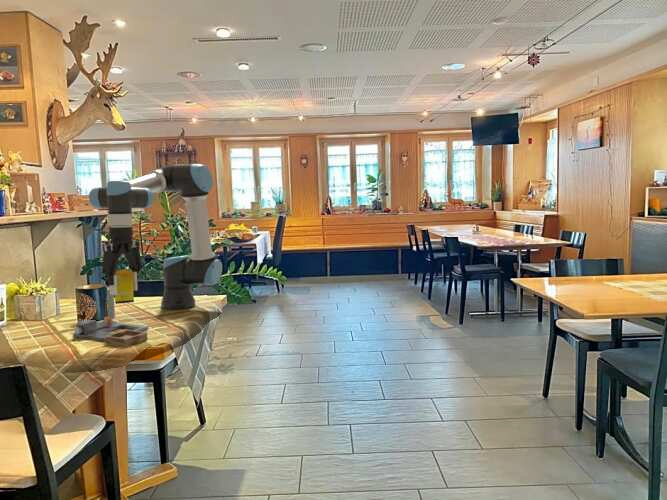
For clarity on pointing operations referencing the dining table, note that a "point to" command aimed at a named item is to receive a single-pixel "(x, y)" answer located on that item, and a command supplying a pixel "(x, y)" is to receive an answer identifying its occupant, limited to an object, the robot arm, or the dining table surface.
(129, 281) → the supplement box
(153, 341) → the dining table surface
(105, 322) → the drift key
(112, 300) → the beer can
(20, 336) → the dining table surface
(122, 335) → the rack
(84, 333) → the socket block
